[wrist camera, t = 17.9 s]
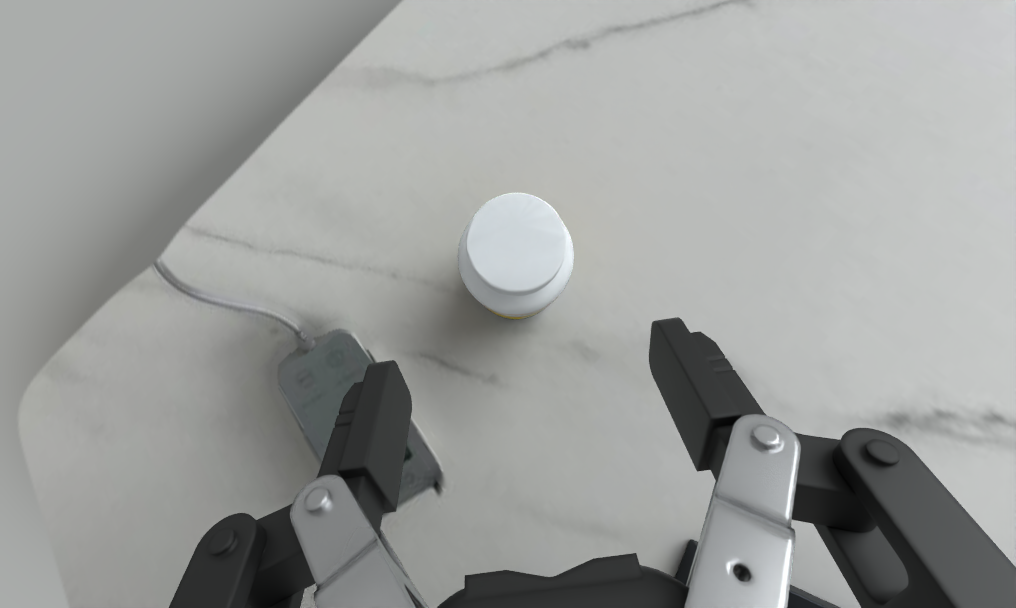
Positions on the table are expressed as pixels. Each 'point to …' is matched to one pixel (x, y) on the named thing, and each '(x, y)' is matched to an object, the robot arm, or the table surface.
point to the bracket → (799, 601)
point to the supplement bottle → (516, 255)
